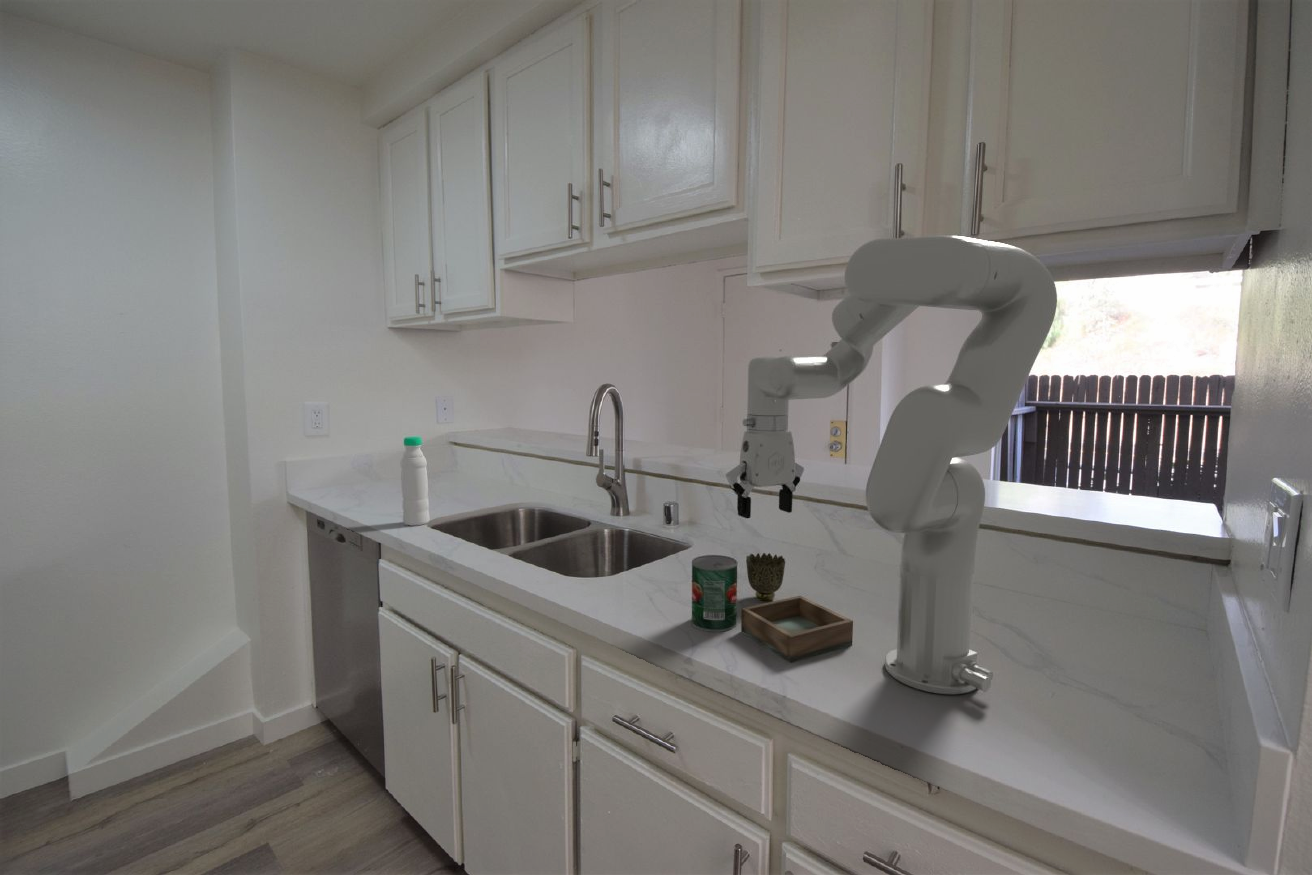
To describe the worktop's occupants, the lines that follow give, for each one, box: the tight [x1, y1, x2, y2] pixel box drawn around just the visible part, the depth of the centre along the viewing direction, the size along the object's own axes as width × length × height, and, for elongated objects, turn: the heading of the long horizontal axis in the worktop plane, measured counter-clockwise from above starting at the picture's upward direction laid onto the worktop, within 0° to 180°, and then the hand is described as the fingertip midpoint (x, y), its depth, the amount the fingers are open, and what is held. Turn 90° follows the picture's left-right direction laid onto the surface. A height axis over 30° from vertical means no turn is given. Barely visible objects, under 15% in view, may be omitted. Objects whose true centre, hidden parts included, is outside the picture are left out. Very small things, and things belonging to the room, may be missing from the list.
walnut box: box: [740, 595, 854, 663], centre depth 101 cm, size 13×13×4 cm
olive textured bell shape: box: [745, 552, 786, 602], centre depth 119 cm, size 8×7×8 cm
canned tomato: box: [691, 554, 739, 633], centre depth 107 cm, size 8×8×11 cm
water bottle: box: [400, 436, 431, 527], centre depth 178 cm, size 7×7×25 cm
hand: (765, 513), depth 118 cm, fingers open, 9 cm apart
